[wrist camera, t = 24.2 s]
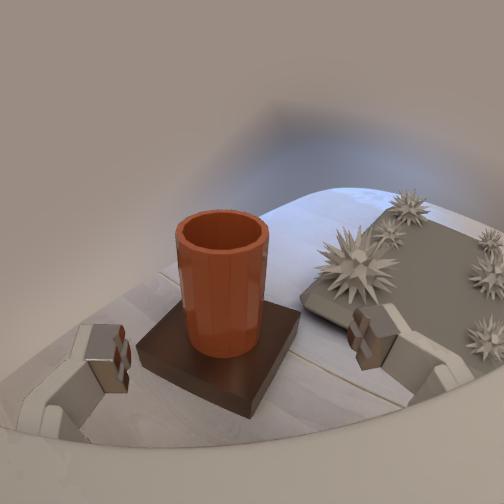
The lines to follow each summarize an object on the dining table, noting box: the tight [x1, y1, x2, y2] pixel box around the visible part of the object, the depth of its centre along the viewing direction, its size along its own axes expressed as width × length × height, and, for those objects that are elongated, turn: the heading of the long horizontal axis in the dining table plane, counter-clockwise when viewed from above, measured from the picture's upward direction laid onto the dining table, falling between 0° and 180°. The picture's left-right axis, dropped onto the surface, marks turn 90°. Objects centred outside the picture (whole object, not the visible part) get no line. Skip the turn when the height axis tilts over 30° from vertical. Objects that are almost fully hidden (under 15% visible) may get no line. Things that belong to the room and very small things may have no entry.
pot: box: [175, 210, 269, 358], centre depth 24 cm, size 6×6×10 cm
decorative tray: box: [300, 191, 504, 379], centre depth 36 cm, size 35×26×10 cm
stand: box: [136, 300, 301, 419], centre depth 28 cm, size 11×11×3 cm
